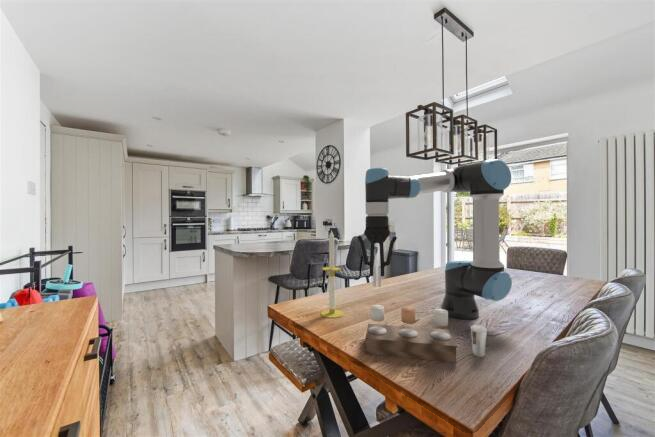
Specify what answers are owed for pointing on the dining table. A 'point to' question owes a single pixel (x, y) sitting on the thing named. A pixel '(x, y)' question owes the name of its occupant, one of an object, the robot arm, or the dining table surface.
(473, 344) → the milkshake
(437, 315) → the knob
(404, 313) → the knob middle
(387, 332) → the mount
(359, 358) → the dining table surface
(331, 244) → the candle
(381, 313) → the knob
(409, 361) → the dining table surface
